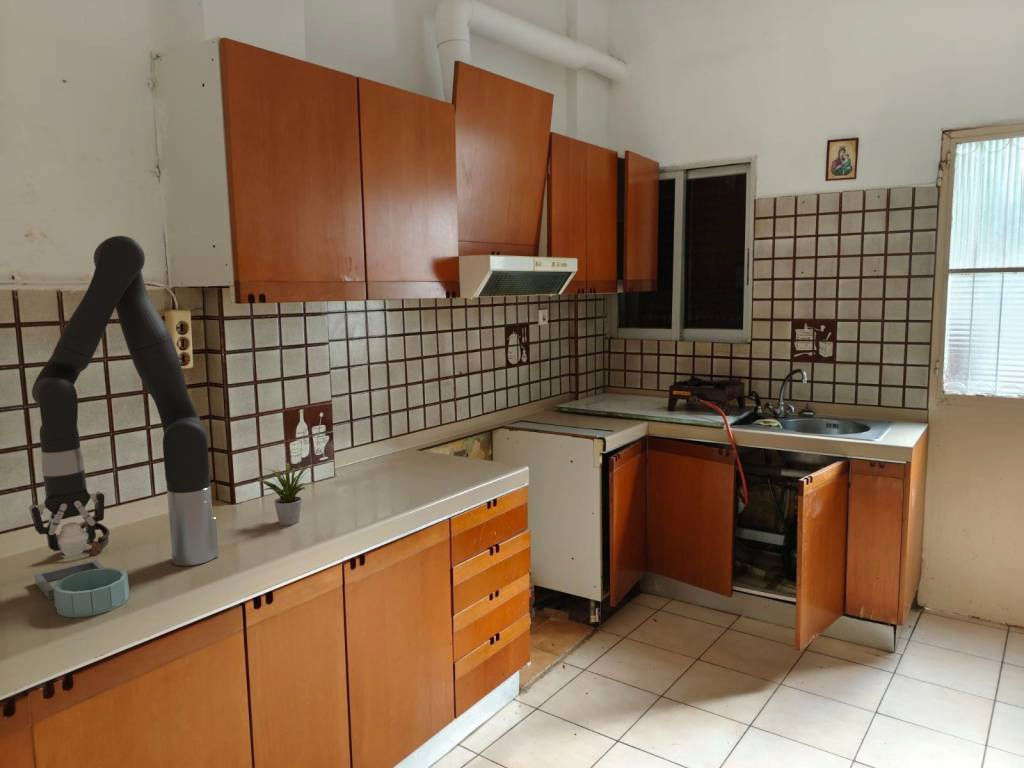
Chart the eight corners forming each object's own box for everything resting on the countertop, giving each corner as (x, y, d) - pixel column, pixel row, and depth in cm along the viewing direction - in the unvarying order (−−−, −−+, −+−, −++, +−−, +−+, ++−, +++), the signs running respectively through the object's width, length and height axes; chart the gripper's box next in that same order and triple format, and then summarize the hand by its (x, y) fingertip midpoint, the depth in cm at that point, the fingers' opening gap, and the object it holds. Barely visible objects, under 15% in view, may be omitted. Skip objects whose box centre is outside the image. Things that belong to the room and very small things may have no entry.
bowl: (117, 585, 159) (115, 563, 158) (136, 603, 150) (134, 580, 149) (50, 603, 151) (47, 580, 150) (66, 623, 142) (63, 598, 141)
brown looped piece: (89, 544, 187) (103, 517, 185) (106, 568, 182) (120, 540, 181) (39, 546, 176) (53, 518, 175) (55, 572, 172) (70, 542, 170)
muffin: (56, 552, 161) (52, 521, 160) (88, 546, 164) (85, 515, 163) (58, 561, 155) (54, 528, 154) (91, 554, 159) (88, 522, 158)
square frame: (96, 568, 169) (96, 559, 169) (112, 583, 161) (112, 574, 160) (35, 583, 161) (34, 574, 161) (49, 599, 152) (48, 590, 152)
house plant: (300, 509, 212) (297, 453, 210) (329, 519, 203) (326, 460, 200) (254, 521, 201) (251, 462, 199) (282, 532, 192) (279, 471, 190)
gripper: (28, 480, 149) (39, 560, 152) (106, 466, 159) (115, 541, 162) (19, 474, 155) (30, 551, 157) (95, 460, 165) (104, 533, 167)
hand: (73, 545), depth 159 cm, fingers closed on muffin, 6 cm apart
